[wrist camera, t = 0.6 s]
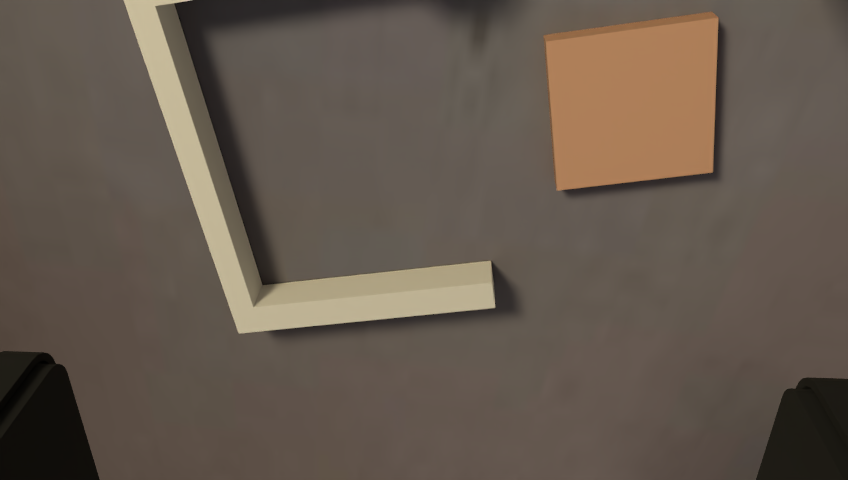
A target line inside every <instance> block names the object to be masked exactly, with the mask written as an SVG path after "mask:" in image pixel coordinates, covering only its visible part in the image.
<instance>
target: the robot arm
mask: <svg viewBox="0 0 848 480" xmlns="http://www.w3.org/2000/svg"><path fill="white" fill-rule="evenodd" d="M0 480H99V476H98V473H97V470H96V466H95V463H94V460H93V456H92V453H91V450H90V446H89V443H88V440H87V436H86V433H85V430H84V426H83V423H82V420H81V417H80V413H79V410H78V407H77V403H76V400H75V397H74V393H73V390H72V387H71V383H70V380H69V377H68V373H67V371H66V369H65V367H64V366H63V365H60V364H56V363H55V361H54V359H53V357H52V356H51V355H50V354H48V353H43V352H13V351H3V352H0ZM756 480H848V379H835V378H803V379H802V380H801V381H800V382H799V383H798V385H797V387H796V389H787V390H786V391H785V392H784V394H783V396H782V399H781V402H780V405H779V409H778V412H777V415H776V418H775V421H774V425H773V428H772V431H771V434H770V437H769V440H768V444H767V447H766V450H765V453H764V456H763V459H762V463H761V466H760V469H759V472H758V475H757V478H756Z"/></svg>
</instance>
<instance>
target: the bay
mask: <svg viewBox="0 0 848 480" xmlns="http://www.w3.org/2000/svg"><path fill="white" fill-rule="evenodd" d="M185 1H191V0H124V3H125V5H126V8H127V11H128V14H129V17H130V20H131V23H132V26H133V29H134V32H135V34H136V37H137V40H138V43H139V46H140V49H141V52H142V55H143V58H144V61H145V63H146V66H147V69H148V72H149V75H150V78H151V81H152V84H153V87H154V89H155V92H156V95H157V98H158V101H159V104H160V107H161V110H162V113H163V116H164V118H165V121H166V124H167V127H168V130H169V133H170V136H171V139H172V142H173V145H174V147H175V150H176V153H177V156H178V159H179V162H180V165H181V168H182V171H183V174H184V176H185V179H186V182H187V185H188V188H189V191H190V194H191V197H192V200H193V203H194V205H195V208H196V211H197V214H198V217H199V220H200V223H201V226H202V229H203V232H204V234H205V237H206V240H207V243H208V246H209V249H210V252H211V255H212V258H213V260H214V263H215V266H216V269H217V272H218V275H219V278H220V281H221V284H222V287H223V289H224V292H225V295H226V298H227V301H228V304H229V307H230V310H231V313H232V316H233V318H234V321H235V324H236V327H237V330H238V333H248V332H259V331H269V330H279V329H289V328H299V327H309V326H319V325H329V324H339V323H349V322H359V321H369V320H379V319H389V318H399V317H409V316H419V315H429V314H439V313H449V312H459V311H469V310H479V309H489V308H495V291H494V280H493V273H492V265H491V261H484V262H474V263H465V264H456V265H446V266H437V267H428V268H418V269H409V270H400V271H391V272H381V273H372V274H363V275H353V276H344V277H335V278H325V279H316V280H307V281H297V282H288V283H279V284H269V285H262V282H261V279H260V275H259V272H258V269H257V266H256V263H255V259H254V256H253V253H252V250H251V247H250V244H249V240H248V237H247V234H246V231H245V228H244V224H243V221H242V218H241V215H240V212H239V208H238V205H237V202H236V199H235V196H234V192H233V189H232V186H231V183H230V180H229V177H228V173H227V170H226V167H225V164H224V161H223V157H222V154H221V151H220V148H219V145H218V141H217V138H216V135H215V132H214V129H213V125H212V122H211V119H210V116H209V113H208V110H207V106H206V103H205V100H204V97H203V94H202V90H201V87H200V84H199V81H198V78H197V74H196V71H195V68H194V65H193V62H192V59H191V55H190V52H189V49H188V46H187V43H186V39H185V36H184V33H183V30H182V27H181V23H180V20H179V17H178V14H177V11H176V7H175V4H174V3H178V2H185Z"/></svg>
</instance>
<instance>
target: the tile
mask: <svg viewBox="0 0 848 480" xmlns="http://www.w3.org/2000/svg"><path fill="white" fill-rule="evenodd" d="M717 44H718V17H717V16H716V15H715V14H714V13H713V12H707V13H700V14H693V15H686V16H678V17H671V18H664V19H657V20H650V21H643V22H635V23H628V24H621V25H614V26H607V27H600V28H592V29H585V30H578V31H571V32H564V33H556V34H549V35H544V47H545V60H546V73H547V86H548V99H549V112H550V125H551V138H552V151H553V164H554V177H555V184H556V188H557V191H558V190H566V189H575V188H583V187H592V186H601V185H609V184H618V183H627V182H635V181H644V180H652V179H661V178H670V177H678V176H687V175H695V174H704V173H713V155H714V127H715V99H716V71H717Z"/></svg>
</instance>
